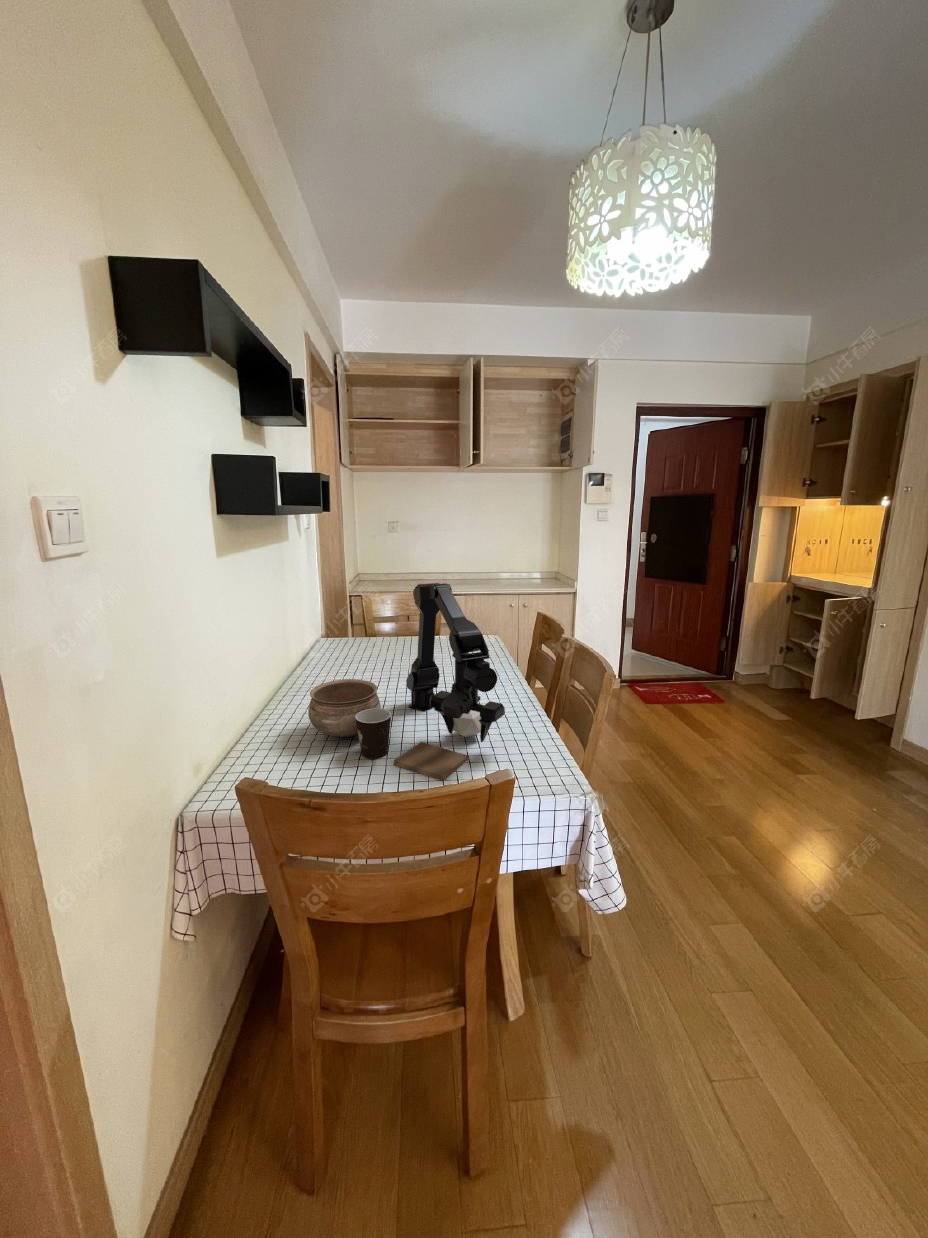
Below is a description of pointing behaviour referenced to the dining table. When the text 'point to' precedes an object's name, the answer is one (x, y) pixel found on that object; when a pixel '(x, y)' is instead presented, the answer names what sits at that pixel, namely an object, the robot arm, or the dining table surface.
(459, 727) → the die
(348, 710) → the cooking pot
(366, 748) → the coffee mug
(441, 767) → the board
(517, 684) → the dining table surface
